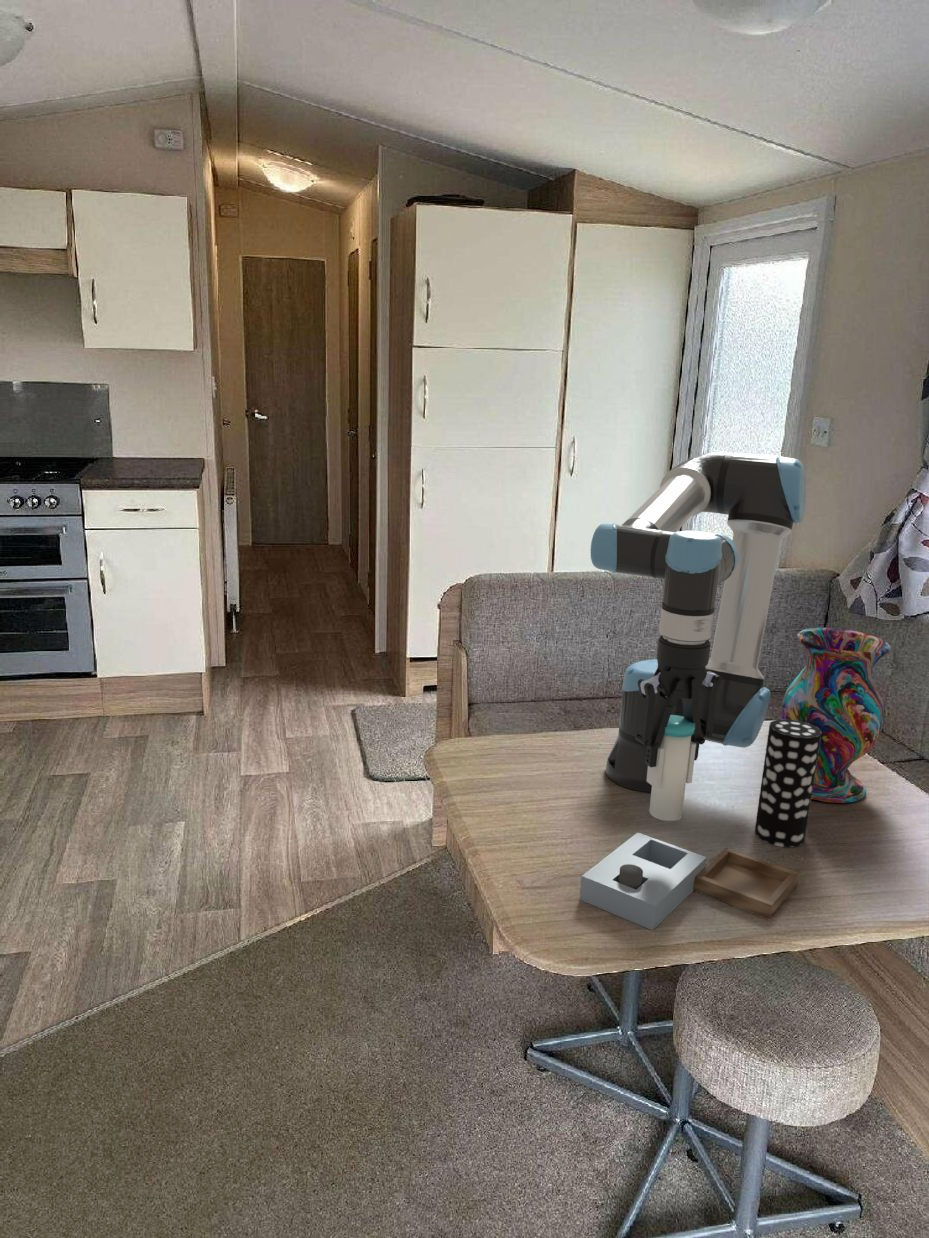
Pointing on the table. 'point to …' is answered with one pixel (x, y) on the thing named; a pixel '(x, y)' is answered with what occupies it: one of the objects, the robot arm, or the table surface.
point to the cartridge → (673, 770)
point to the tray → (746, 882)
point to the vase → (838, 705)
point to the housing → (643, 880)
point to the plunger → (631, 876)
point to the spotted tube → (787, 782)
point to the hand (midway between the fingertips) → (669, 781)
